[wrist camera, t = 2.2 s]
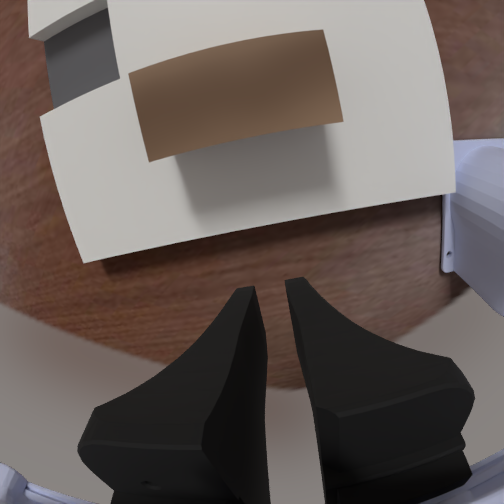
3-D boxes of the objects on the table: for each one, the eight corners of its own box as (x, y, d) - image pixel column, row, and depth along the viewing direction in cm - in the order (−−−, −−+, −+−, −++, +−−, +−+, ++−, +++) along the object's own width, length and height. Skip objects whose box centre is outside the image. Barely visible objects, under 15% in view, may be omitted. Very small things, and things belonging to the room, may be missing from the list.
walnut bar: (323, 121, 15) (343, 121, 11) (173, 152, 16) (149, 162, 12) (307, 49, 13) (323, 29, 10) (157, 82, 14) (128, 73, 11)
